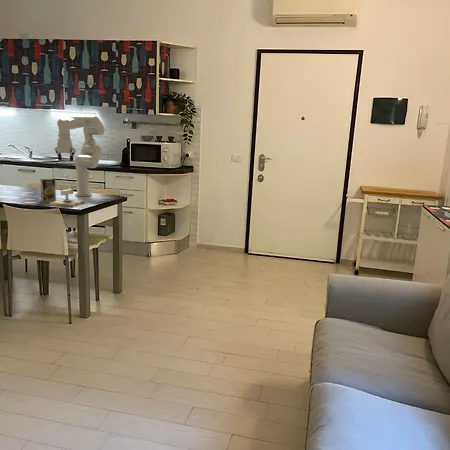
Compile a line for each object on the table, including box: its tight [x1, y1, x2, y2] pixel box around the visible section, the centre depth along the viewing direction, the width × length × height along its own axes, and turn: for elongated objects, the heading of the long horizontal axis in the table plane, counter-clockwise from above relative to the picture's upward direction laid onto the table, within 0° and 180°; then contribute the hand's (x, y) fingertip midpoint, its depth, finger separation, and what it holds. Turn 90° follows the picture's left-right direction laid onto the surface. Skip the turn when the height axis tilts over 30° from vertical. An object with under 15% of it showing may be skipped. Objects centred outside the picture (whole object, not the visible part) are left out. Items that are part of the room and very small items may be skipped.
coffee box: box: [40, 178, 57, 203], centre depth 342 cm, size 9×6×16 cm
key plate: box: [48, 198, 85, 208], centre depth 334 cm, size 17×17×2 cm
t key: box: [60, 188, 74, 202], centre depth 333 cm, size 10×4×8 cm, turn 154°
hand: (65, 160), depth 342 cm, fingers open, 9 cm apart
